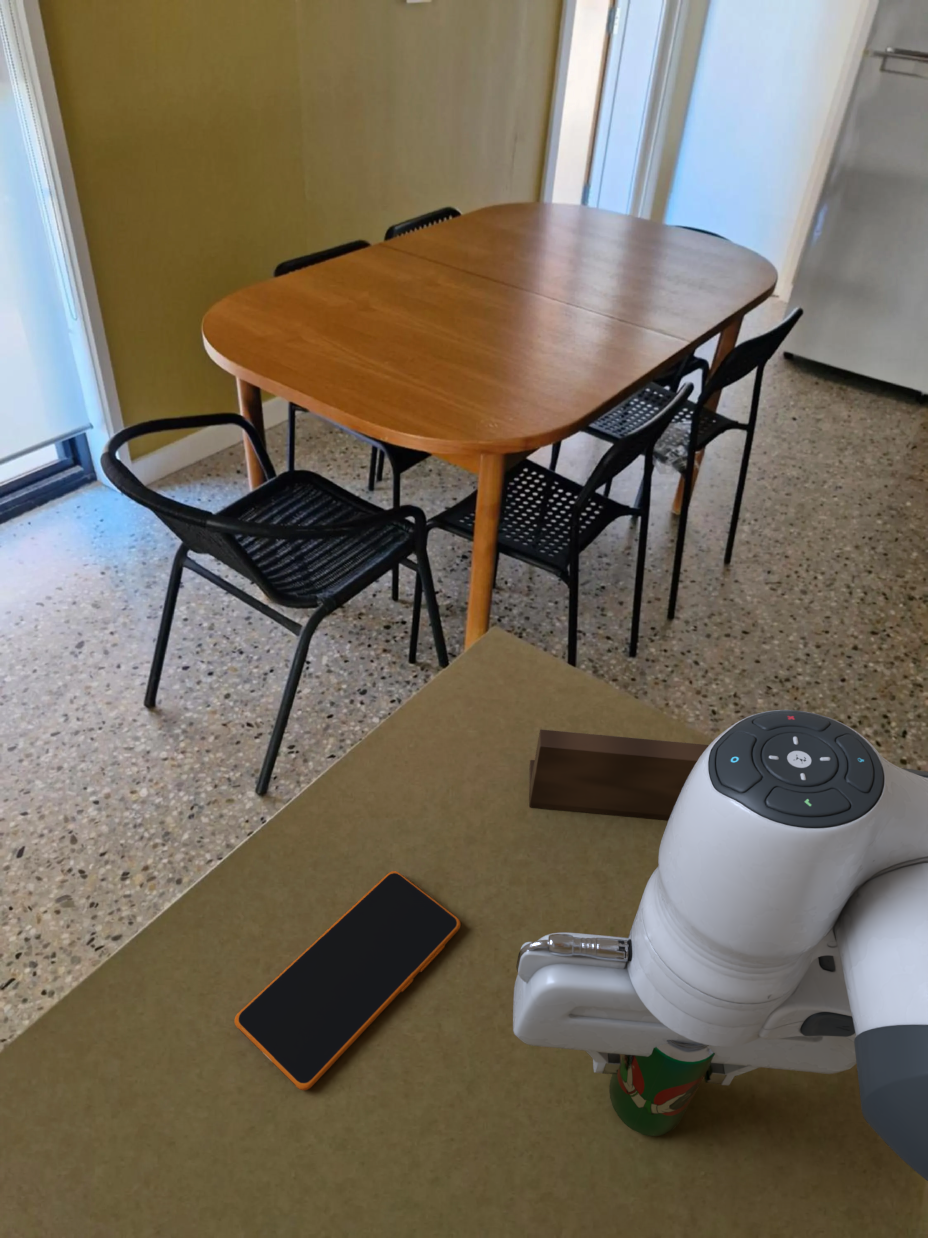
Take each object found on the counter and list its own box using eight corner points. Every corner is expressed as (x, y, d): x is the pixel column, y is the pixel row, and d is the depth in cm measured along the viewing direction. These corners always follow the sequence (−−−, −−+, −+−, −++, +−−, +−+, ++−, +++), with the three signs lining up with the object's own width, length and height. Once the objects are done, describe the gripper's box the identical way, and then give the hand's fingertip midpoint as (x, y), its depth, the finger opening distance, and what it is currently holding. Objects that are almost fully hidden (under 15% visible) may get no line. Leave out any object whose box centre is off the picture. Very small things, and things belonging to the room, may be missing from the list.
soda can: (692, 1087, 61) (738, 1000, 54) (666, 1156, 58) (712, 1072, 50) (624, 1047, 63) (659, 957, 55) (595, 1112, 59) (629, 1025, 52)
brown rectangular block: (700, 781, 83) (721, 721, 78) (708, 824, 79) (731, 764, 74) (529, 765, 83) (539, 704, 78) (529, 807, 79) (540, 746, 74)
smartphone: (231, 1024, 62) (229, 1018, 62) (393, 873, 73) (393, 867, 72) (305, 1098, 59) (304, 1093, 58) (464, 928, 69) (465, 922, 69)
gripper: (521, 990, 46) (497, 1103, 55) (913, 1027, 46) (826, 1135, 55) (523, 886, 51) (500, 1005, 60) (877, 919, 51) (802, 1034, 60)
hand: (659, 1067), depth 57 cm, fingers open, 6 cm apart
